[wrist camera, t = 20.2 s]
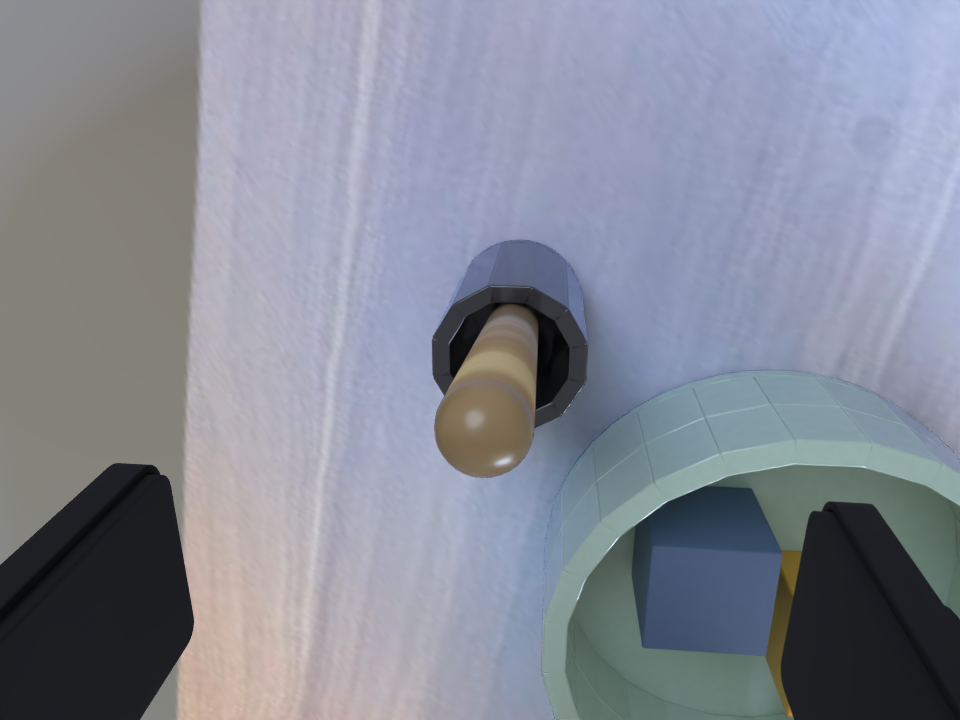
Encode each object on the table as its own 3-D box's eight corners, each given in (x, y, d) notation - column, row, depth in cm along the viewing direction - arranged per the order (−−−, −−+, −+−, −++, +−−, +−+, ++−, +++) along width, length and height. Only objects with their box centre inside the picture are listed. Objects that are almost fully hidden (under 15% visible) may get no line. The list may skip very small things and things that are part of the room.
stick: (498, 285, 26) (426, 387, 10) (539, 286, 25) (535, 391, 10) (497, 326, 26) (426, 490, 10) (538, 328, 26) (531, 496, 10)
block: (638, 482, 27) (651, 546, 24) (752, 487, 27) (783, 553, 23) (630, 574, 29) (642, 648, 25) (738, 580, 28) (766, 657, 25)
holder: (458, 237, 25) (430, 283, 20) (584, 240, 25) (591, 287, 20) (458, 354, 27) (433, 428, 21) (577, 359, 27) (583, 434, 21)
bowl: (551, 360, 27) (550, 428, 22) (1019, 377, 25) (1137, 454, 20) (538, 704, 32) (535, 823, 27) (922, 733, 31) (994, 864, 26)
